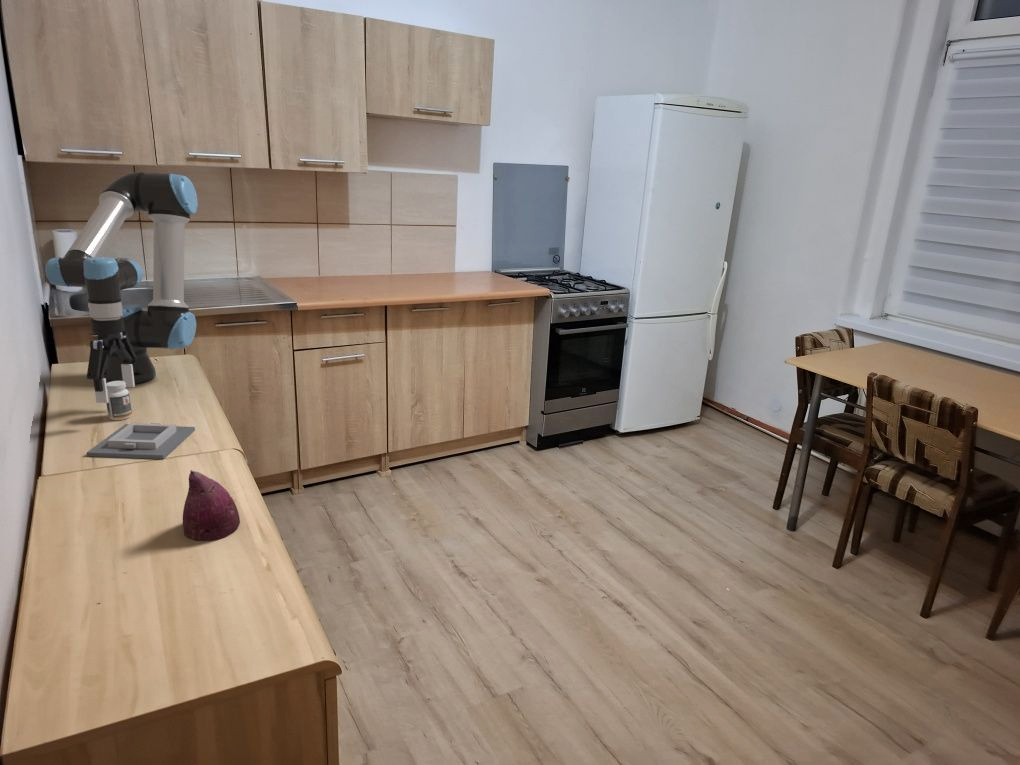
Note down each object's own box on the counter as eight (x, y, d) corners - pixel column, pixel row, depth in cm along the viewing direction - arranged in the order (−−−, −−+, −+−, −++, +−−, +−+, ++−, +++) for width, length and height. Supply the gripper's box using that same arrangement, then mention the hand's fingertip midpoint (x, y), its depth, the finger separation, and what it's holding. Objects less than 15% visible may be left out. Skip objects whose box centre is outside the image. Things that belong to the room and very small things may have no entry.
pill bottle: (136, 414, 185) (132, 380, 182) (123, 422, 179) (118, 387, 176) (117, 412, 185) (112, 379, 182) (103, 420, 180) (98, 385, 177)
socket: (125, 427, 176) (124, 417, 175) (195, 430, 177) (194, 420, 176) (87, 456, 159) (85, 445, 158) (163, 459, 160) (162, 448, 159)
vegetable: (192, 559, 127) (164, 501, 119) (184, 527, 135) (157, 471, 127) (247, 535, 132) (223, 478, 124) (236, 506, 139) (213, 450, 131)
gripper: (117, 307, 185) (126, 380, 191) (63, 327, 161) (75, 408, 168) (144, 309, 185) (152, 381, 192) (94, 328, 162) (105, 410, 168)
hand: (116, 394), depth 180 cm, fingers open, 13 cm apart
